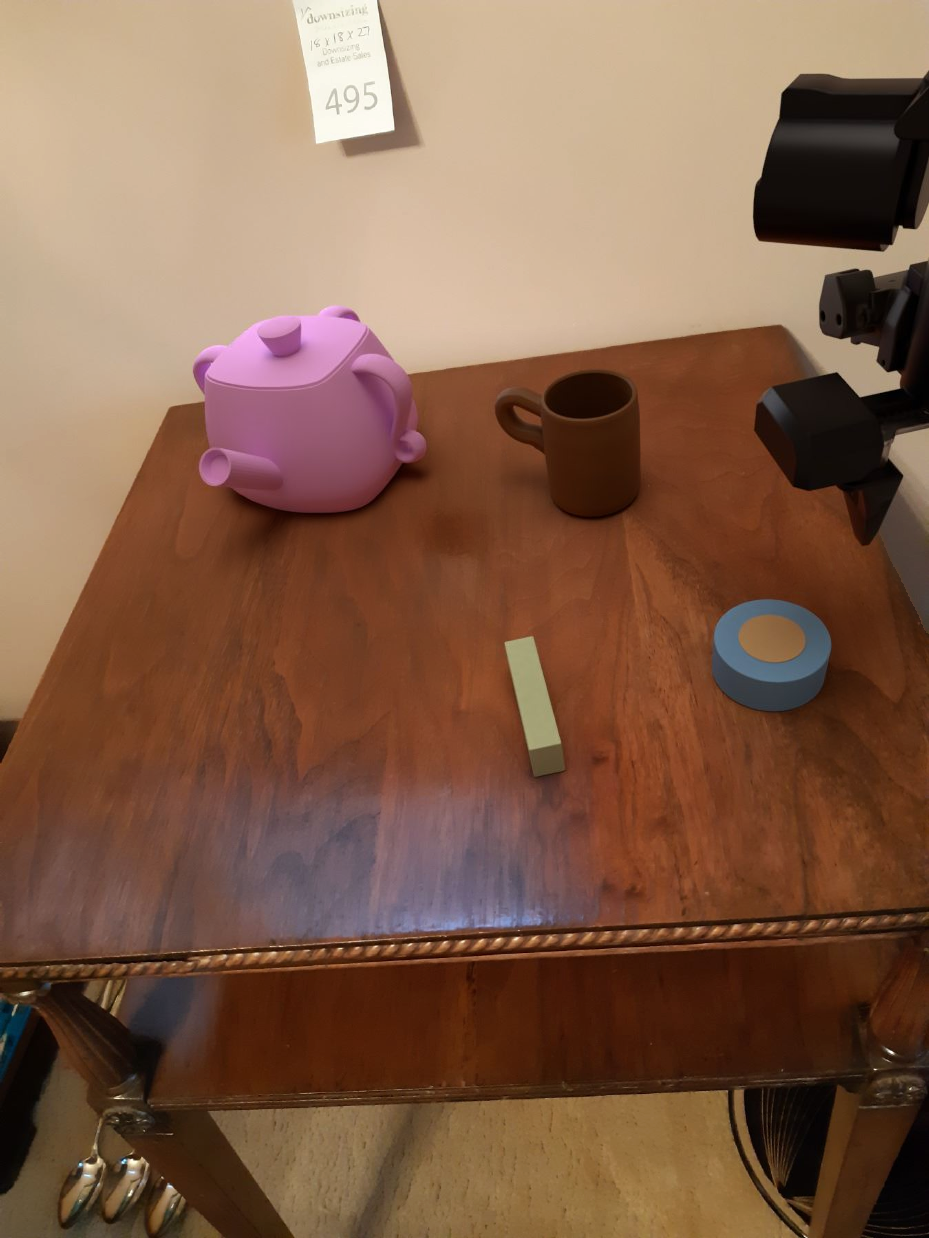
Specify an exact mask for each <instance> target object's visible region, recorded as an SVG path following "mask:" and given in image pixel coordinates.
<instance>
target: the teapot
mask: <svg viewBox="0 0 929 1238" xmlns="http://www.w3.org/2000/svg"><path fill="white" fill-rule="evenodd" d="M192 375H193V378H194V380H195V383H196V385H197V386H198V388H199V389H200V391H201V392H202V394H203V395H204V418H205V419H204V420H205V431H206V435H207V441H208V444H209V445H208V446H209V448H208V449H207V450H206V451H204V453H203V454H202V455H201V457H200V459H199V463H198V471H199V475H200V477H201V479H202V480H203V482H204V483H205V484H206V485H208V486H210V487H211V486H213V487H220V488H221V487H222V488H231V489H232V490H233V491H235V492H236V493H237V494H239V495H241V496H243V497H244V498H246V499H248V500H250V501H252V502H254V503H257V504H260V505H263V506H265V507H269V508H272V509H275V510H279V511H285V512H291V513H293V512H294V513H302V514H303V513H306V514H307V513H308V514H328V513H329V514H330V513H342V512H348V511H349V512H350V511H353V510H357V509H361V508H362V507H364V506H366V505H369V504H370V503H371V502H372V501H374V500H375V499H376V497H378V495H380V494H381V493H382V491H383V490H384V489H385V488H386V486H387V485H388V484H389V483H390V481H391V480H392V479H393V477H394V476H395V475H396V473H398V470H399V469H400V467H401V466H402V464H411V463H412V464H413V463H417V462H418V461H420V460H421V459H422V458H423V457H424V456H425V454H426V451H427V445H428V444H427V441H426V439H425V437H424V436H423V435H422V434H421V433H420V432H418V431H417V429H418V425H419V413H418V410H417V406H416V403H415V400H414V399H415V398H414V397H413V387H412V383H411V379H410V377H409V375H408V374H407V372H406V371H405V369H404V368H403V367H402V366H401V365H400V364H398V363H397V362H396V361H395V359H394V358H393V357H392V355H391V354H390V353H389V351H388V349H386V347H385V346H384V344H383V343H382V341H381V340H380V339H379V337H378V336H377V335H376V334H375V332H373V331H372V329H371V328H370V327H369V326H368V325H367V324H365V323H362V322H361V319H360V317H359V315H358V314H357V313H356V312H355V311H354V310H353V309H352V308H350V307H348V306H343V305H329V306H327V307H325V308H324V309H322V310H320V312H319V313H318V314H317V315H291V314H289V315H287V314H286V315H285V314H284V315H278V316H275V317H272V318H268V319H263V320H261V321H258V322H256V323H254V324H253V325H251V326H250V327H249V328H247V329H246V330H244V332H242V333H241V334H239V336H238V337H236V338H235V339H234V340H233V341H232V342H231V343H230V344H229V345H228V346H226V345H220V344H216V345H211V346H208V347H207V348H205V349H204V350H202V351H201V352H200V353H199V354H197V356H196V357H195V360H194V361H193V364H192Z"/></svg>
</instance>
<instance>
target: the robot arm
mask: <svg viewBox="0 0 929 1238" xmlns="http://www.w3.org/2000/svg"><path fill="white" fill-rule="evenodd" d="M928 207H929V70H928V71H927V72H926V73H925V74H924V76H923V77H909V78H908V77H899V78H898V77H887V78H886V77H885V78H884V77H882V78H881V77H880V78H879V77H878V78H877V77H876V78H873V77H872V78H865V77H864V78H847V77H841V76H836V75H834V74H830V73H800V74H798V75H797V77H795V78H794V80H792V81H791V83H789V84H788V86H787V87H786V88H785V89H784V90H783V91H782V92H781V94H780V102H779V114H778V119H777V121H776V125H775V126H774V129H773V132H772V134H771V136H770V140H769V143H768V147H767V149H766V153H765V157H764V161H763V165H762V169H761V176H760V178H759V179H758V180H757V181H756V183H755V185H754V191H753V202H752V221H753V222H752V224H753V225H752V226H753V232H754V234H755V238H756V239H757V241H758V242H761V243H772V244H773V243H774V244H786V245H797V246H810V247H820V248H833V249H843V250H855V251H856V250H857V251H867V252H880V253H884V252H885V251H886V250H887V249H888V248H889V247H890V246H893V245H894V244H895V240H896V237H897V234H898V232H899V227H902V229H903V230H905V229H906V230H918V229H919V227H920V226H921V224H922V222H923V220H924V217H925V215H926V212H927V210H928ZM820 293H821V294H820V297H819V301H818V325H819V328H820V332H821V334H823V335H824V336H827V337H830V338H834V339H838V340H845V339H850V343H851V344H852V345H855V346H858V345H861V344H865V345H869V346H872V347H877V348H878V350H877V354H876V360H875V361H876V363H877V364H878V365H879V366H880V367H881V368H882V369H883V370H884V372H886V373H892V372H893V373H894V372H897V373H898V375H900V379H899V388H895V389H891V390H887V391H881V392H878V393H872V394H868V395H864V396H863V395H862V396H860V395H858V393H857V392H856V391H855V390H854V389H853V388H852V387H851V385H849V383H848V382H847V381H846V380H845V379H844V378H843V377H842V375H840V373H839V372H838V371H836V372H831V373H825V374H822V375H817V376H812V377H808V378H804V379H798V380H794V381H790V382H785V383H781V384H777V385H773V386H772V385H771V386H770V387H769V388H768V389H767V390H765V391H764V392H763V393H762V394H761V396H760V398H759V400H758V401H757V403H756V406H755V416H754V417H755V418H754V424H753V425H754V426H753V431H754V433H755V435H756V436H757V437H758V439H759V440H760V442H761V443H762V444H763V446H764V447H765V449H766V450H767V452H768V453H769V455H770V456H771V457H772V459H773V461H774V462H775V463H776V464H777V465H776V466H778V468H779V469H780V470H781V472H782V473H783V475H784V477H785V478H786V479H787V480H788V482H789V484H790V485H791V486H792V488H794V489H795V488H796V489H799V490H803V491H805V492H812V491H816V490H822V489H826V488H830V487H835V486H836V488H837V489H838V490H840V491H841V492H842V493H843V497H844V502H845V505H846V509H847V513H848V517H849V521H850V524H851V528H852V529H851V530H852V532H853V535H854V538H855V539H856V540H857V542H858V543H859V545H861V547H866V546H869V545H871V544H872V542H873V540H874V539H875V537H876V536H877V535H878V533H879V531H880V529H881V527H882V525H883V522H884V520H885V518H886V516H887V513H888V511H889V509H890V508H891V505H892V502H893V501H894V498H895V496H896V494H897V493H898V490H899V488H900V486H901V483H902V481H903V480H904V479H903V478H904V474H903V473H902V472H901V470H900V469H899V468H898V467H897V466H896V465H895V463H894V462H893V461H892V460H891V459H890V457H889V456H890V451H891V448H892V445H893V443H894V442H895V439H896V436H899V435H905V434H908V433H909V434H910V433H913V432H918V431H923V430H927V429H929V258H928V259H927V260H925V261H920V262H915V263H911V264H909V266H908V269H905V270H900V271H896V272H892V273H886V274H883V275H879V276H874V273H873V271H872V270H871V269H861V270H860V269H859V268H856V267H855V268H850V269H847V270H840V271H836V272H831V273H828V274H825V275H824V278H823V283H822V288H821V291H820Z"/></svg>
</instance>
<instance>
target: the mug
mask: <svg viewBox="0 0 929 1238" xmlns="http://www.w3.org/2000/svg"><path fill="white" fill-rule="evenodd" d="M514 407H517V408H520V409H522V410H524V411H526V412H528V413H530V414H533V415H535V416H537V417H539V418H540V423H541V424H540V425H538V424H535V423H530V422H527V421H524V420H523V419H521V418H520V416H519V415H518V414H517V412H516V411H515V408H514ZM640 410H641V409H640V403H639V392H638V387H637V386H636V384H635V382H634V380H633V379H631V378H630V377H629V376H628V375H626V374H624V373H622V372H620V371H616V370H612V369H607V368H587V369H586V368H585V369H580V370H579V369H578V370H576V371H575V370H574V371H571V372H569V373H566V374H563V375H562V376H559V377H557V378H555V379H554V380H553V381H551V382H549V384H548V385H547V386H546V387H545V389H544V390H543V391H542V393H541V394H540V393H539V392H536V391H534V390H533V389H530V388H528V387H526V386H525V387H524V386H511V387H508V388H505V389H504V390H502V391H501V392H500V393H499V394H498V395H497V397H496V400H495V403H494V415H495V417H496V421H497V423H498V425H499V426H500V428H501V429H502V431H503V432H504V433H506V435H507V436H509V437H510V438H511V439H513V440H515V441H516V442H519V443H521V444H525V445H529V446H532V447H533V448H534V449H535V450H537V451H539V452H541V453H542V455H544V458H545V459H544V460H545V466H546V472H547V473H546V474H547V480H548V487H549V492H550V495H551V498H552V500H553V501H554V503H555V504H556V505H557V506H558V507H559V508H560V509H561V510H563V511H564V512H567V513H569V514H571V515H574V516H578V517H583V518H584V517H585V518H595V517H596V518H597V517H598V518H599V517H603V516H608V515H611V514H612V515H613V514H615V513H617V512H619V511H621V510H623V509H625V508H626V507H628V506H629V505H630V504H631V503H632V502H633V501H634V499H635V498H636V497H637V495H638V493H639V491H640V488H641V480H642V479H641V475H642V474H641V473H642V472H641V471H642V470H641V469H642V468H641V412H640Z"/></svg>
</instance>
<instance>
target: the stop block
mask: <svg viewBox="0 0 929 1238" xmlns="http://www.w3.org/2000/svg"><path fill="white" fill-rule="evenodd" d="M504 649H505V653H506V659H507V665H508V668H509V673H510V677H511V678H510V679H511V682H512V686H513V690H514V696H515V700H516V704H517V708H518V713H519V717H520V721H521V727H522V730H523V735H524V740H525V744H526V748H527V752H528V756H529V761H530V766H531V770H532V775H533V778H537V777H541V776H546V775H550V774H555V773H560V772H565V771H566V766H565V759H564V752H563V744H562V740H561V736H560V732H559V729H558V723H557V721H556V717H555V714H554V709H553V706H552V703H551V698H550V694H549V691H548V687H547V683H546V679H545V676H544V672H543V668H542V664H541V660H540V657H539V652H538V649H537V646H536V641H535V638H534V636H532V635H531V636H526V637H521V638H517V639H513V640H508V641H505V642H504Z"/></svg>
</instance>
